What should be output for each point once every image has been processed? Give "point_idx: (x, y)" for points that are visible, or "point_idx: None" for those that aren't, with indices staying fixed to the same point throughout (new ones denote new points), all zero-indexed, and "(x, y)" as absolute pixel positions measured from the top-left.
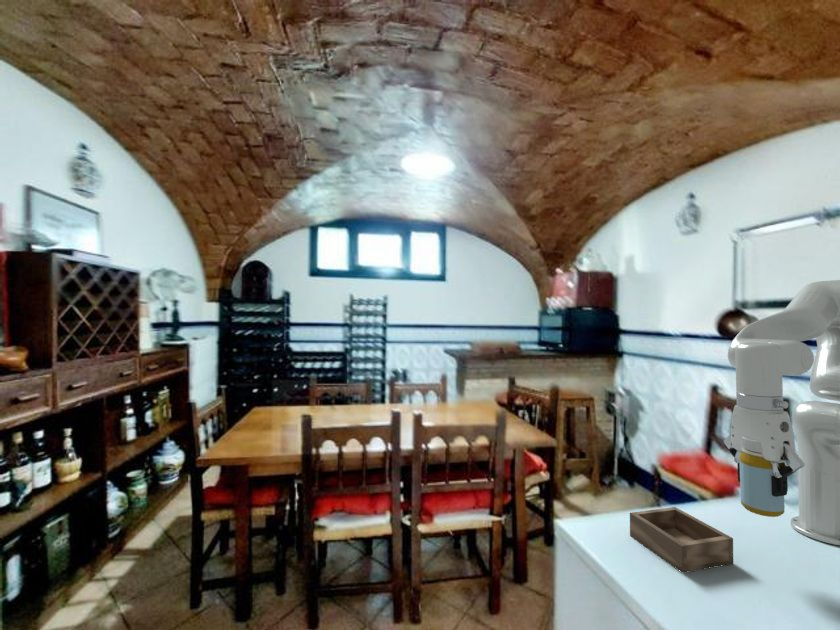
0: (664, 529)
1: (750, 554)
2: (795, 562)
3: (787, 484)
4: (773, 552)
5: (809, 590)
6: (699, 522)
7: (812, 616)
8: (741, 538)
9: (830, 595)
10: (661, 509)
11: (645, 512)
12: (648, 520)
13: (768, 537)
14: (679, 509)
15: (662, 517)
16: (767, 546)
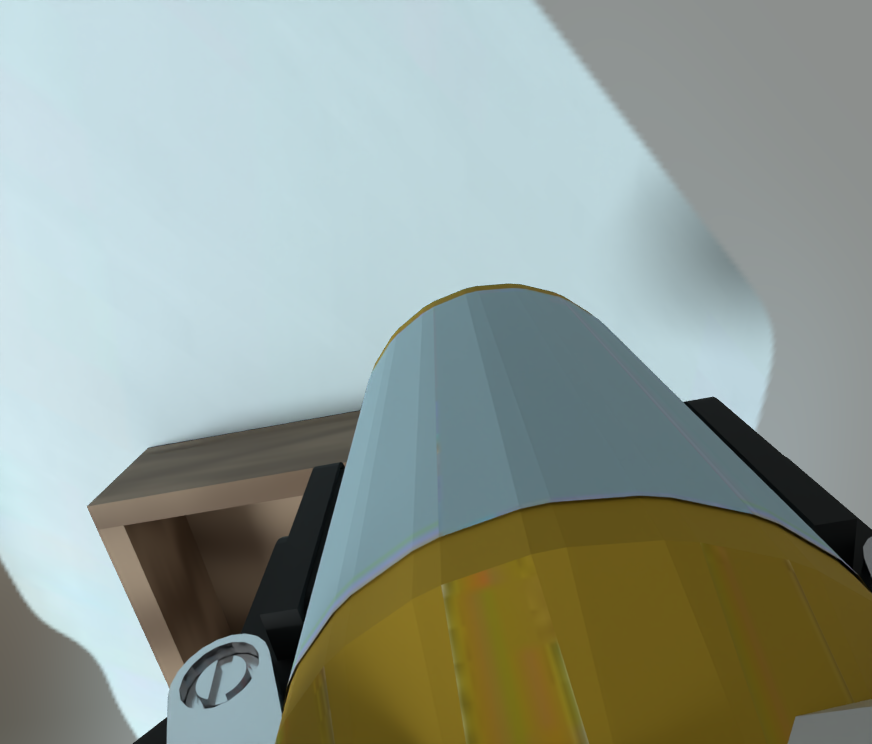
0: (189, 525)
1: (356, 265)
2: (427, 98)
3: (832, 496)
4: (338, 132)
5: (621, 237)
6: (266, 495)
7: (743, 365)
8: (207, 189)
9: (662, 179)
10: (130, 585)
11: (175, 666)
12: (197, 631)
13: (182, 17)
14: (118, 503)
15: (167, 571)
16: (281, 113)
